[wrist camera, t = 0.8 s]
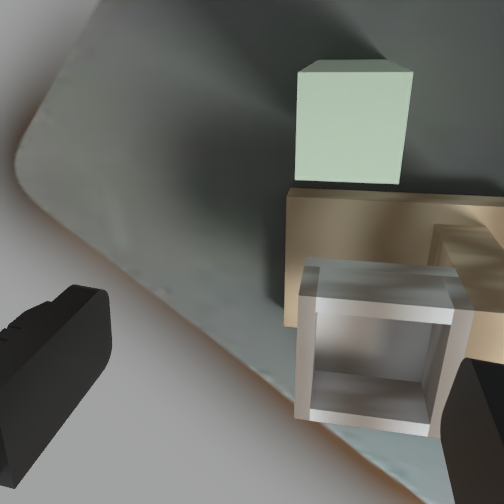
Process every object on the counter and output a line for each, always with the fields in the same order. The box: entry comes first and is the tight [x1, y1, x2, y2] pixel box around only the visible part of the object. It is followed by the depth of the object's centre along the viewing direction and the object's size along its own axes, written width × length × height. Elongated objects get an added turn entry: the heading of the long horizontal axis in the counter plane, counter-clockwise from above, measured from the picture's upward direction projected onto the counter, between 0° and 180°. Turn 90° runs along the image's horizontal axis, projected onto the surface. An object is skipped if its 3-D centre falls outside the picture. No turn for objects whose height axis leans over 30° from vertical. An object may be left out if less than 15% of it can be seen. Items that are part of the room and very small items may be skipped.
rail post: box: [295, 59, 413, 184], centre depth 22 cm, size 4×4×12 cm
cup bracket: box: [284, 188, 504, 438], centre depth 26 cm, size 14×10×12 cm
